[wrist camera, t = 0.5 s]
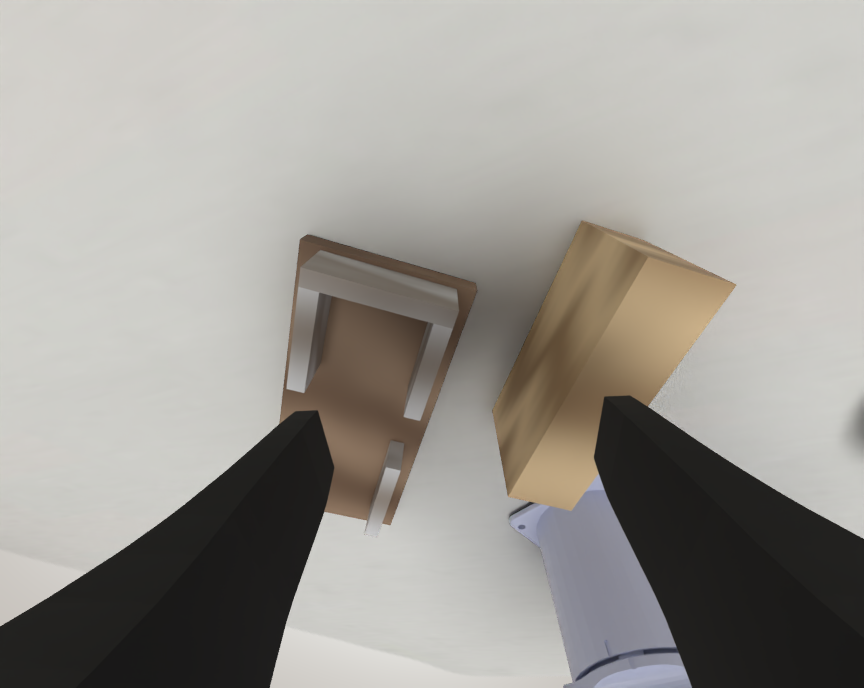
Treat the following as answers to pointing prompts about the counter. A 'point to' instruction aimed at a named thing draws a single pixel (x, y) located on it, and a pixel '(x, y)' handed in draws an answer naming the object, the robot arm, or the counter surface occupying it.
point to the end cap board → (370, 365)
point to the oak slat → (596, 356)
